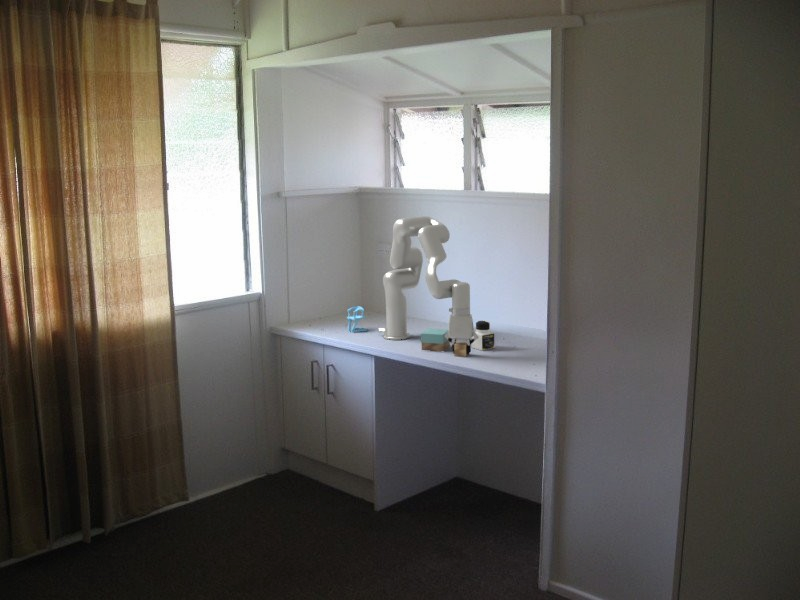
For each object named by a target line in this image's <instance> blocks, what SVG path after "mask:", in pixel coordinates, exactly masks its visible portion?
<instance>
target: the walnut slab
mask: <svg viewBox="0 0 800 600" xmlns="http://www.w3.org/2000/svg"><path fill="white" fill-rule="evenodd" d="M449 346H450V347H451V342H450V341H449V340H447V341H446V342H445V343H443V344H438V343H422V342H421V351H422V350H430V351H429V352H441V351H444V352H445V351H446V350H447V349H449V348H450V347H449ZM448 347H449V348H448Z"/></svg>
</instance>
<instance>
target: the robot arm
mask: <svg viewBox="0 0 800 600" xmlns="http://www.w3.org/2000/svg"><path fill="white" fill-rule="evenodd" d="M450 235H451V233H450V231H449V229H448V227H447V226H446V225H445V224H444V223H442V222H440V221H438V220H436V219H435V218H433V217H431V216H413V217H403V218H398V219H397V220H395V222H394V224H393V227H392V242H391V249H390V257H389V265H390V266H391V268H392V269H394V270H389V271H386V273H385V274H384V275H383V277H382V284H383V288H384V295H385V318H386V320H385V321H386V327H379V328H378V332H379V333H384V334H383V338H384V339H385V340H389V339H390V341H391V340H392V341H400V340H401V339H402V340H407V339H409V338H411V333H409V332H408V324H407V323H408V320H407V319H408V317H407V316H408V315H407V314H408V313H407V299H406V296H405V295H404V293H403V291H404V290H411V289H415V288H416V287H417V286H418V285H419V282H420V278H421V273H422V268H423V262H424V259H423V258H424V257H423V253H424V255H425V258H426V260H427V266H426V268H425V282H426V283H425V284H426V287H427V288H428V290H429V293H430V295H431V296H432V297H433V298H434V299H436V300H443V299H449V298H451V303H452V304H451V307H450V308H448V312H451V314H450V315H449V320H448V330H449V331H448V332H447V333H446V334H445V336H444V337H445V338H447V339H448V340H449V341H450V345H452V346H451V349H452V352H453V354H454V344H455V343H457V340H466V342H467V346H466V354H467V356H468V355H470V353H471V351H472V343H473V342H474V341H475V340H477V339H478V338H479V337H478V335H477V334H476V333H475V332H476V331H475V330H474V328H475V327H474V320H473V315H472V314H471V285H470V283H468V282H466V281H460V280H458V279H447V280H440V279H439V278H438V275H437V267H438V265H440V264H442V263H443V262H444V261H446V259H447V253H446V250H445V248H444V246H443V244H446V243H448V241H449V240H450ZM411 237H417V238H418V240H419V242H420V245H421V248H422V251H423V253H422V251H421V249H419V247H417V246H412V238H411ZM473 336H474V338H473V339H472V337H473ZM402 340H401V341H402Z"/></svg>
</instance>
